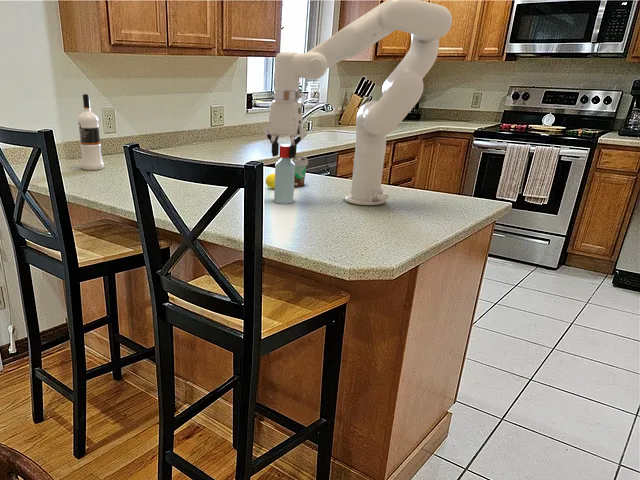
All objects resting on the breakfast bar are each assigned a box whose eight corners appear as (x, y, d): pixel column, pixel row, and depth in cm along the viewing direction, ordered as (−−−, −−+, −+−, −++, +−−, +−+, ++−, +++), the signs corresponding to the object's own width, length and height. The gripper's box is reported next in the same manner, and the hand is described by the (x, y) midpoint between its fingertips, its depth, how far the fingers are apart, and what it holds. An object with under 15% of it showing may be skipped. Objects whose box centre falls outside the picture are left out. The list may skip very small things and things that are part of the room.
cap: (277, 156, 169) (277, 145, 167) (286, 155, 171) (286, 144, 170) (285, 158, 166) (285, 146, 165) (294, 157, 168) (294, 145, 167)
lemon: (262, 187, 195) (262, 172, 192) (274, 186, 197) (274, 171, 195) (272, 191, 189) (272, 176, 187) (284, 189, 191) (285, 174, 189)
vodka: (105, 169, 224) (98, 94, 212) (83, 171, 220) (75, 94, 208) (102, 166, 231) (95, 93, 219) (80, 167, 228) (72, 93, 216)
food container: (305, 189, 193) (307, 161, 189) (288, 188, 194) (290, 160, 190) (308, 182, 204) (310, 156, 200) (292, 181, 205) (293, 155, 201)
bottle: (297, 202, 174) (300, 147, 167) (282, 204, 170) (285, 149, 163) (284, 198, 179) (286, 145, 171) (270, 200, 175) (271, 146, 168)
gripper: (316, 97, 160) (312, 157, 168) (267, 95, 168) (265, 153, 176) (306, 98, 154) (302, 161, 162) (256, 96, 162) (254, 156, 170)
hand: (283, 156), depth 169 cm, fingers open, 5 cm apart
